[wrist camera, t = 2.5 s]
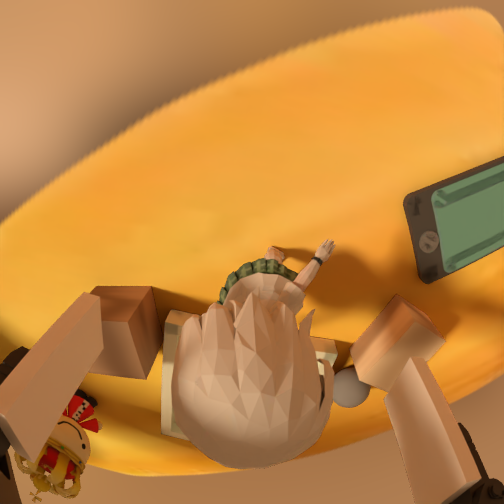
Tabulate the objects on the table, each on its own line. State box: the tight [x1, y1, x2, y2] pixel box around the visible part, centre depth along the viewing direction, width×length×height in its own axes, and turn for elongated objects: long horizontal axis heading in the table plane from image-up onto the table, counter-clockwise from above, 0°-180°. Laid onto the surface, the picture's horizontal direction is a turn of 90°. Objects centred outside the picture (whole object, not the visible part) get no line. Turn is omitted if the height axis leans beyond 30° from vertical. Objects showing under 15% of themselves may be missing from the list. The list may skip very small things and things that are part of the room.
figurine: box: [171, 239, 335, 469], centre depth 15 cm, size 10×6×15 cm, turn 136°
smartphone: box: [403, 156, 504, 284], centre depth 19 cm, size 7×1×15 cm
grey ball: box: [333, 368, 370, 408], centre depth 24 cm, size 4×4×4 cm
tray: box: [161, 309, 338, 441], centre depth 26 cm, size 13×15×2 cm
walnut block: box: [88, 286, 164, 380], centre depth 22 cm, size 5×5×5 cm
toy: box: [14, 389, 102, 502], centre depth 22 cm, size 7×7×15 cm
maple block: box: [349, 294, 446, 392], centre depth 22 cm, size 4×6×4 cm, turn 149°
